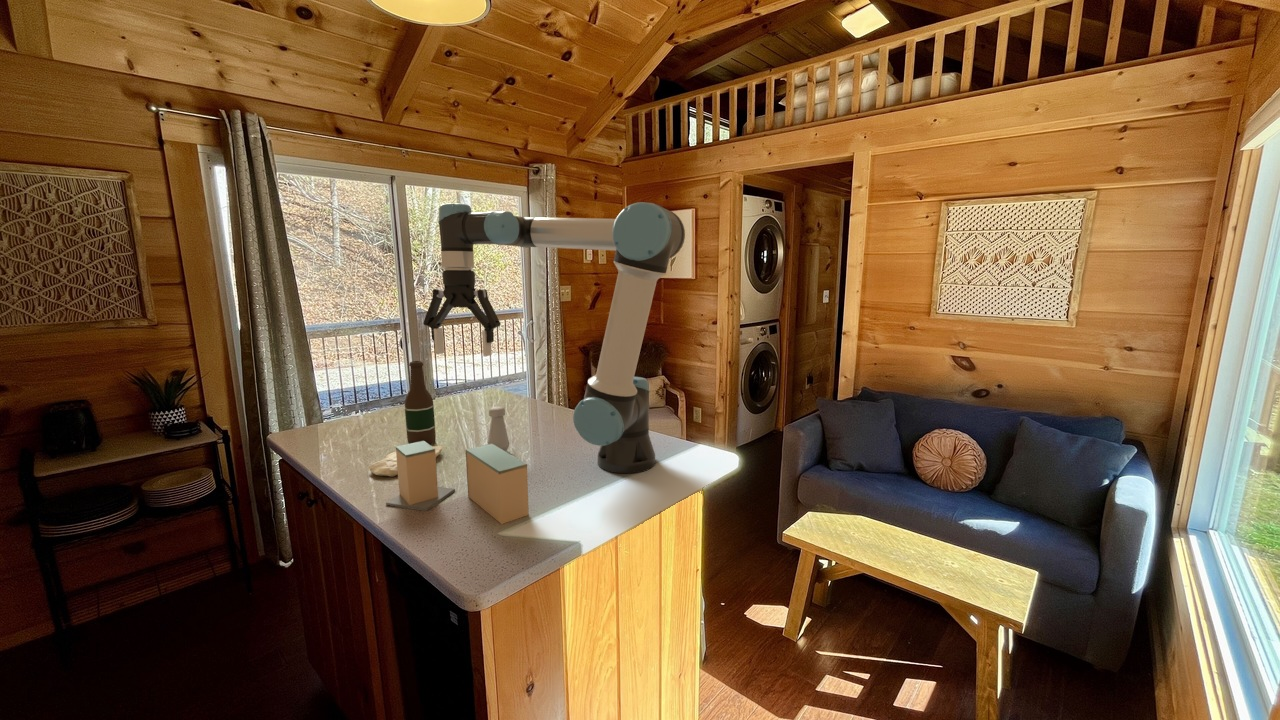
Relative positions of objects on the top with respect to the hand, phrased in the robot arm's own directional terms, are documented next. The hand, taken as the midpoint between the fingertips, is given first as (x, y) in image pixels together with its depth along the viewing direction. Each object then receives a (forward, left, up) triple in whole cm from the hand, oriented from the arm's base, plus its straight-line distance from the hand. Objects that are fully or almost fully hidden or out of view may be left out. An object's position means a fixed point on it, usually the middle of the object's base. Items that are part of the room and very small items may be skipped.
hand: (463, 354), depth 130 cm
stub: (-1, +22, -28) cm, 36 cm away
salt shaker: (-4, -8, -29) cm, 30 cm away
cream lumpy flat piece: (+13, +5, -29) cm, 33 cm away
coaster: (-2, +22, -29) cm, 36 cm away
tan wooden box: (-20, +21, -29) cm, 41 cm away
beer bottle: (+22, -10, -29) cm, 38 cm away
